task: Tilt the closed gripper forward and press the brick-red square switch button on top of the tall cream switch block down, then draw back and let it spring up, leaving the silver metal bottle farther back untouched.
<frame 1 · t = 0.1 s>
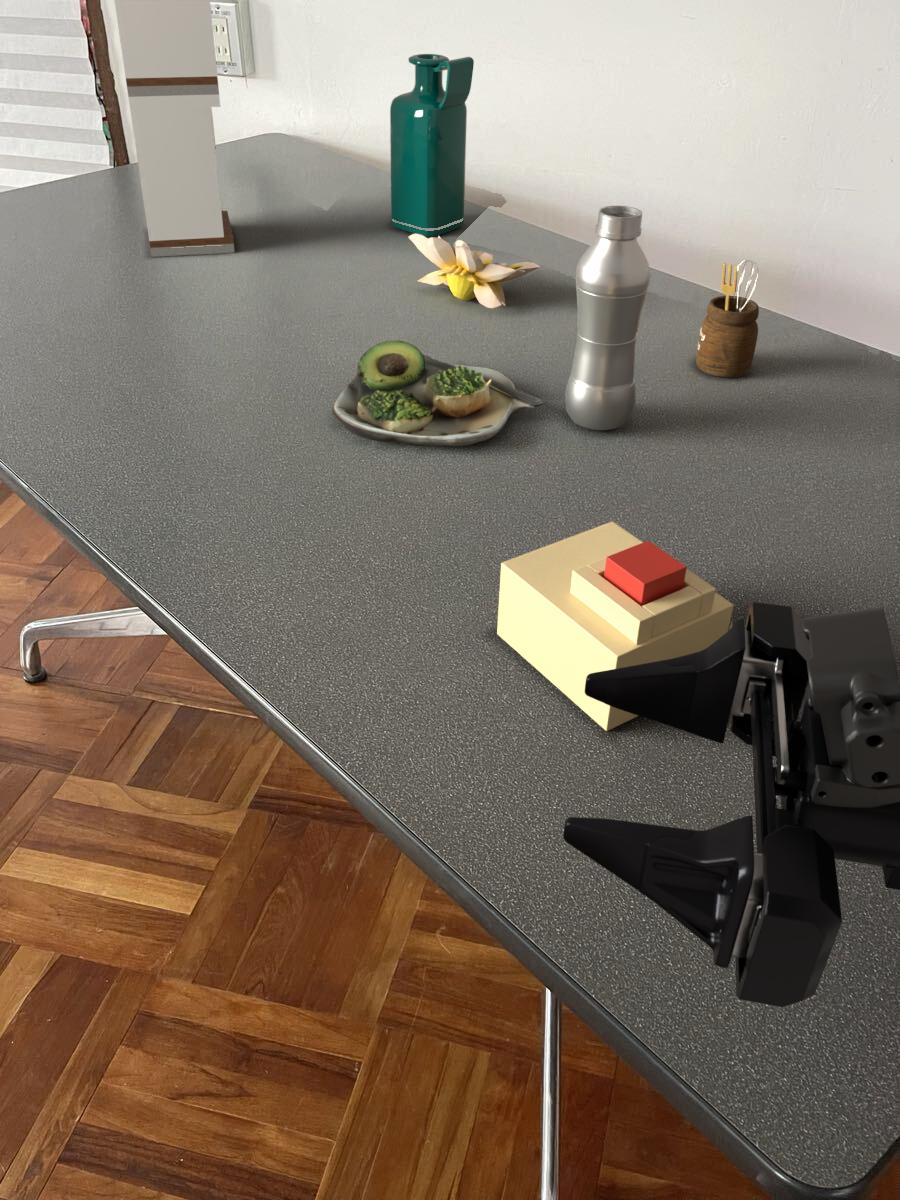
hand: (575, 750, 47), 14 cm above the table, tool horizontal, fingers open, 9 cm apart
decorative flower: (477, 298, 130), on the table
switch block: (604, 655, 75), on the table
utensil holder: (721, 369, 115), on the table
pitcher: (431, 228, 151), on the table
button: (644, 573, 68), point 8 cm above the table, slide at 0.1 cm
silver metal bottle: (596, 424, 104), on the table
salad plate: (422, 410, 105), on the table
striped white pillar: (191, 242, 144), on the table
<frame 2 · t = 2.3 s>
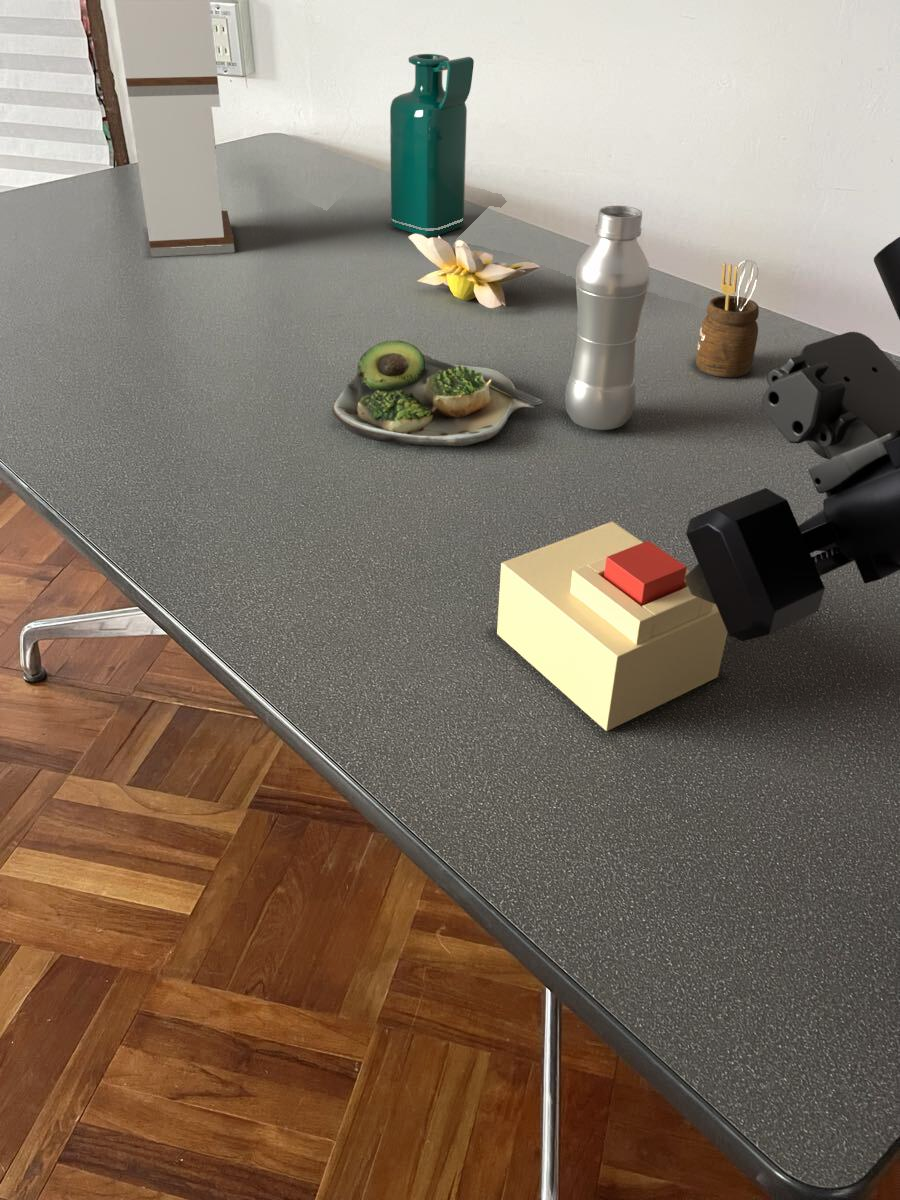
hand: (744, 561, 60), 14 cm above the table, tool tilted 45°, fingers open, 8 cm apart
nothing on the table moved.
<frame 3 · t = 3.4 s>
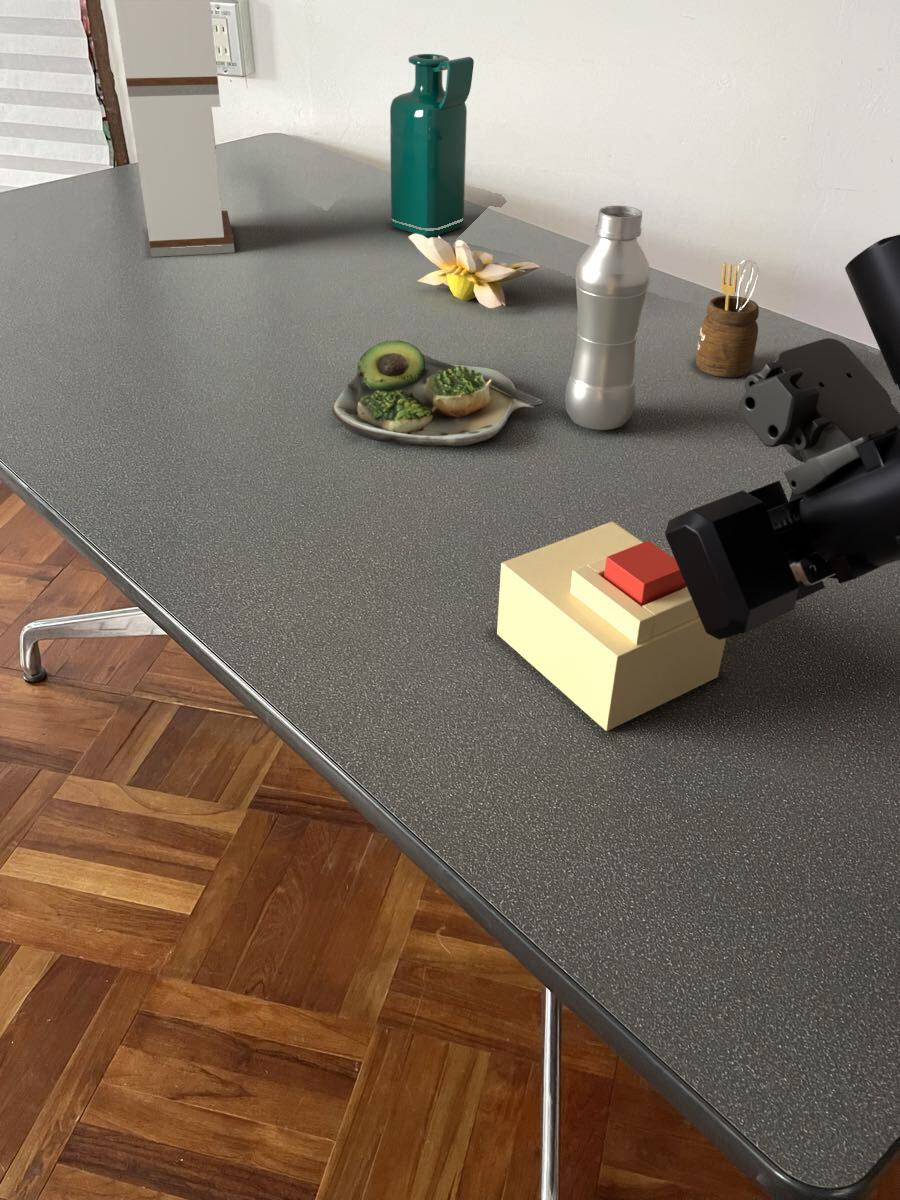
hand: (726, 562, 62), 13 cm above the table, tool tilted 45°, fingers closed
nothing on the table moved.
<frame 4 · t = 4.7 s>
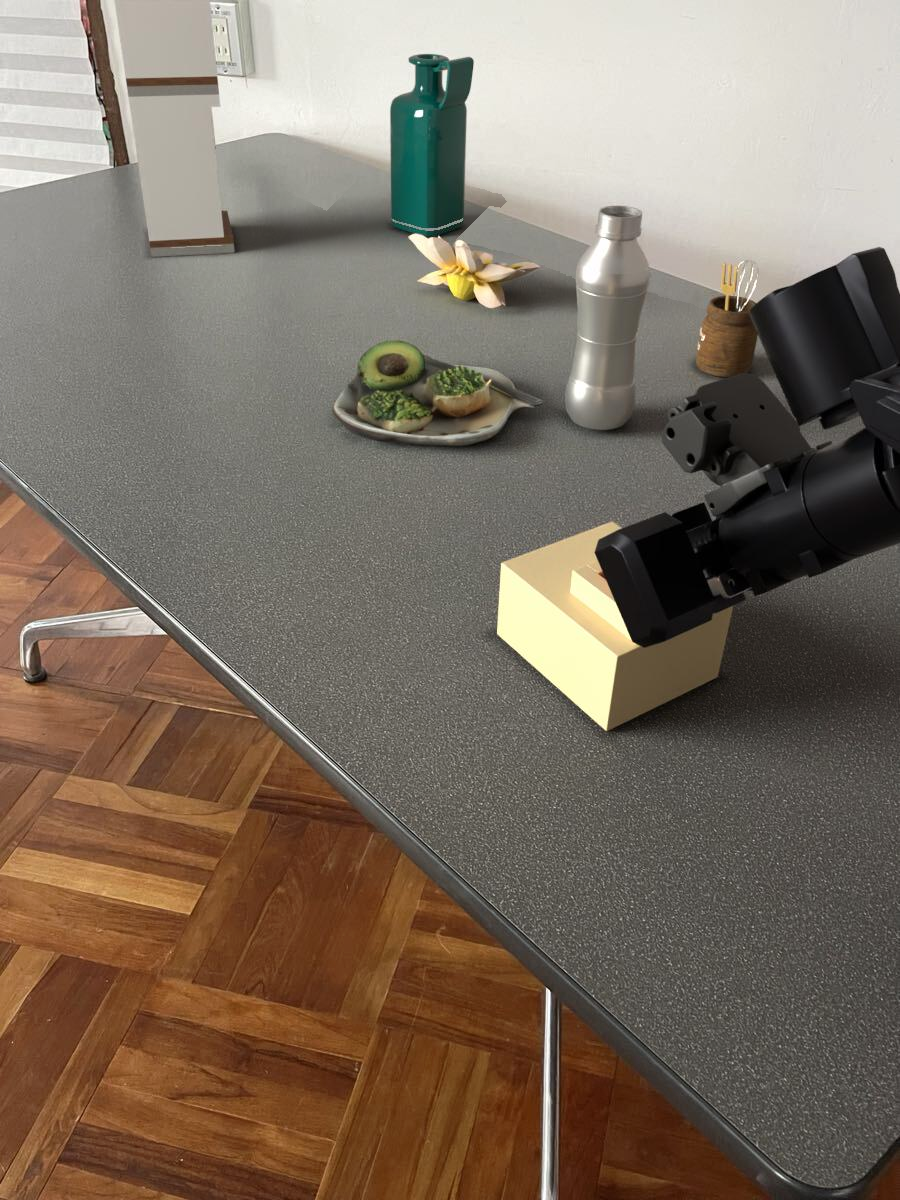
hand: (662, 576, 67), 9 cm above the table, tool tilted 45°, fingers closed, pressing on button
button: (643, 577, 68), point 8 cm above the table, slide at -0.3 cm, touching gripper
everything else where it was.
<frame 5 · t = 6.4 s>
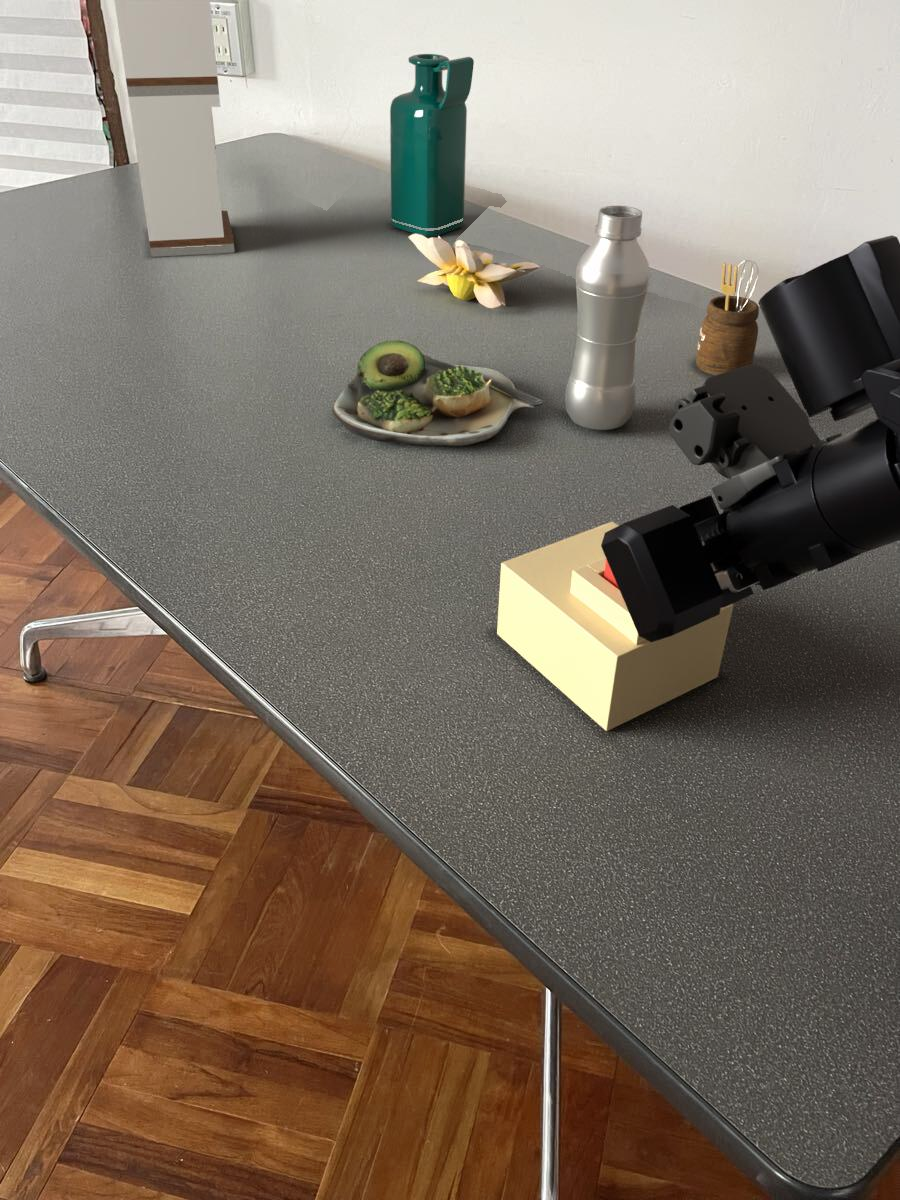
hand: (668, 570, 66), 10 cm above the table, tool tilted 45°, fingers closed
button: (644, 573, 68), point 8 cm above the table, slide at 0.1 cm
everything else where it was.
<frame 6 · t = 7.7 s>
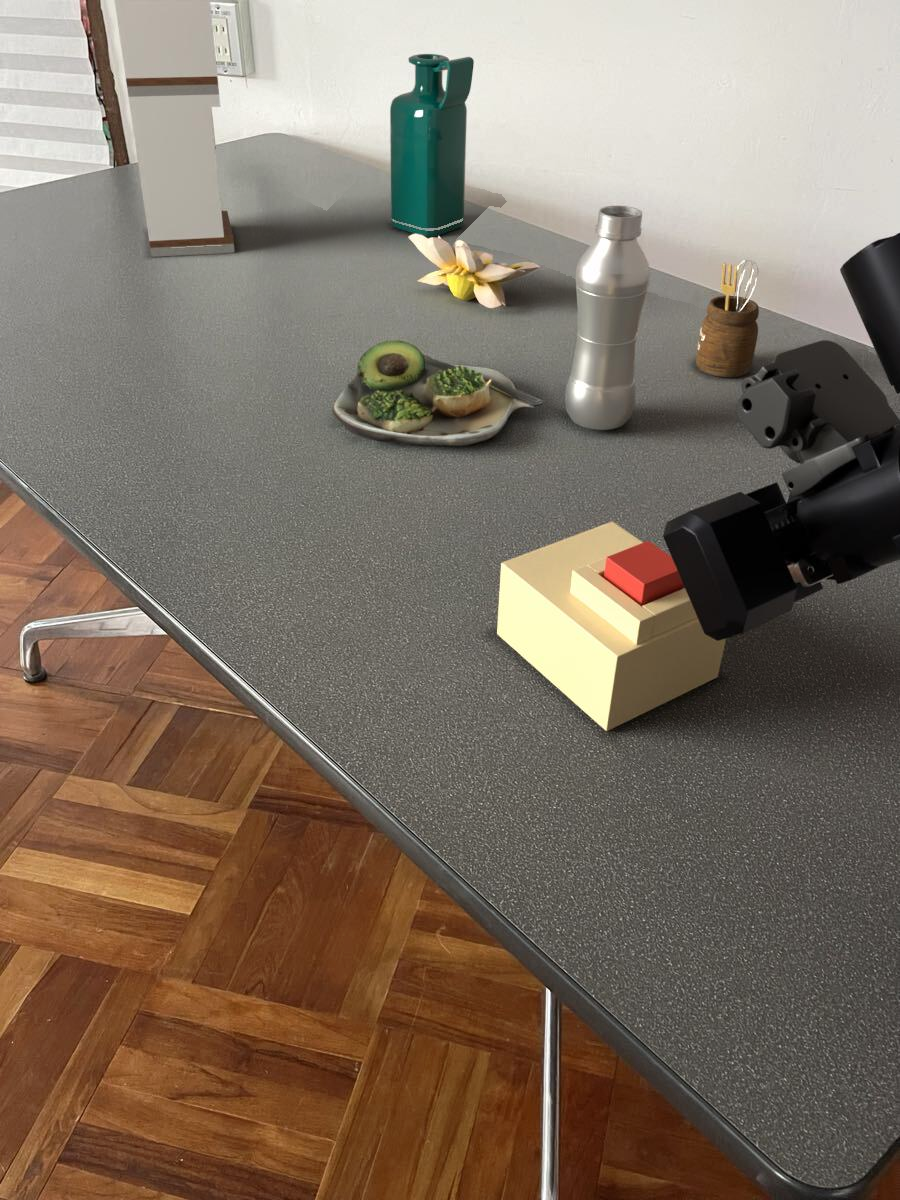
hand: (725, 564, 62), 13 cm above the table, tool tilted 45°, fingers closed
nothing on the table moved.
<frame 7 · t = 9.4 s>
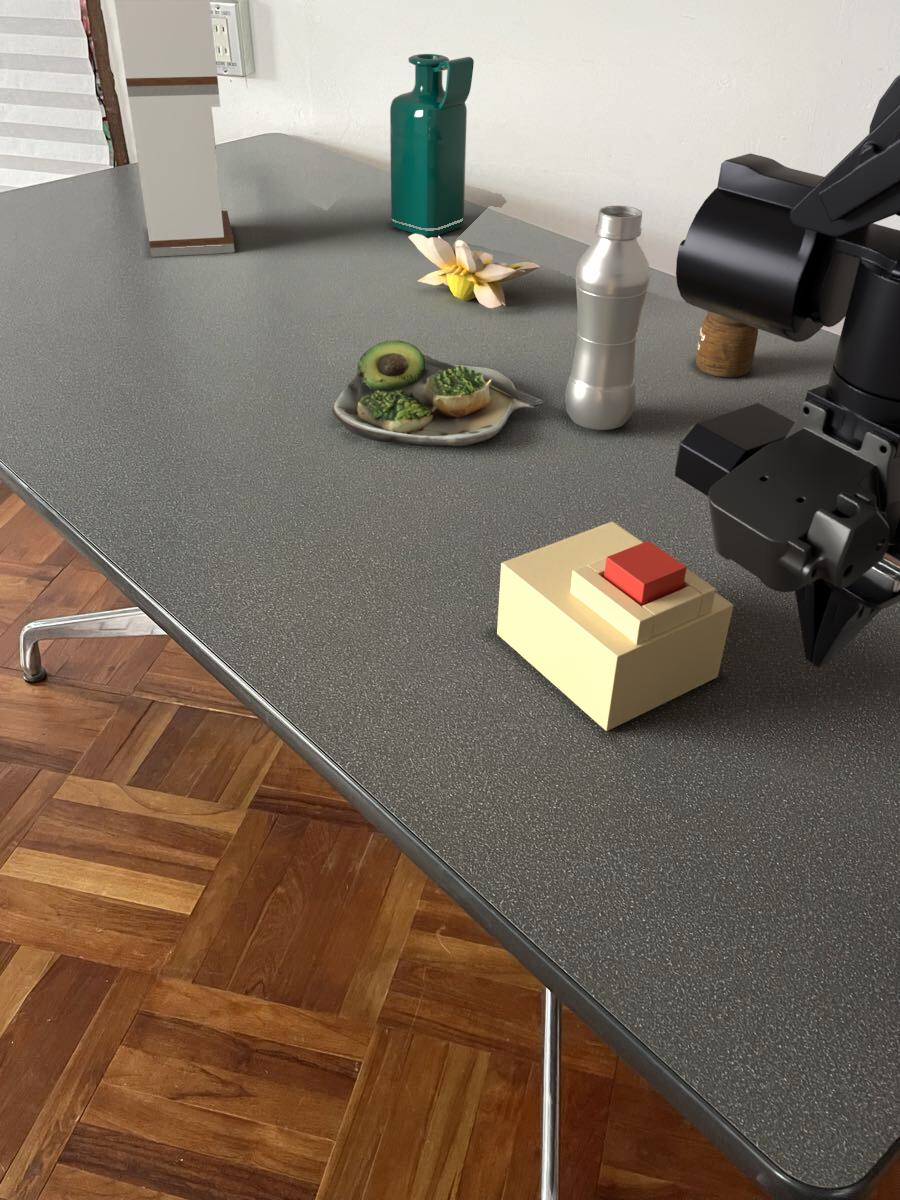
hand: (817, 661, 54), 13 cm above the table, tool pointing down, fingers closed
nothing on the table moved.
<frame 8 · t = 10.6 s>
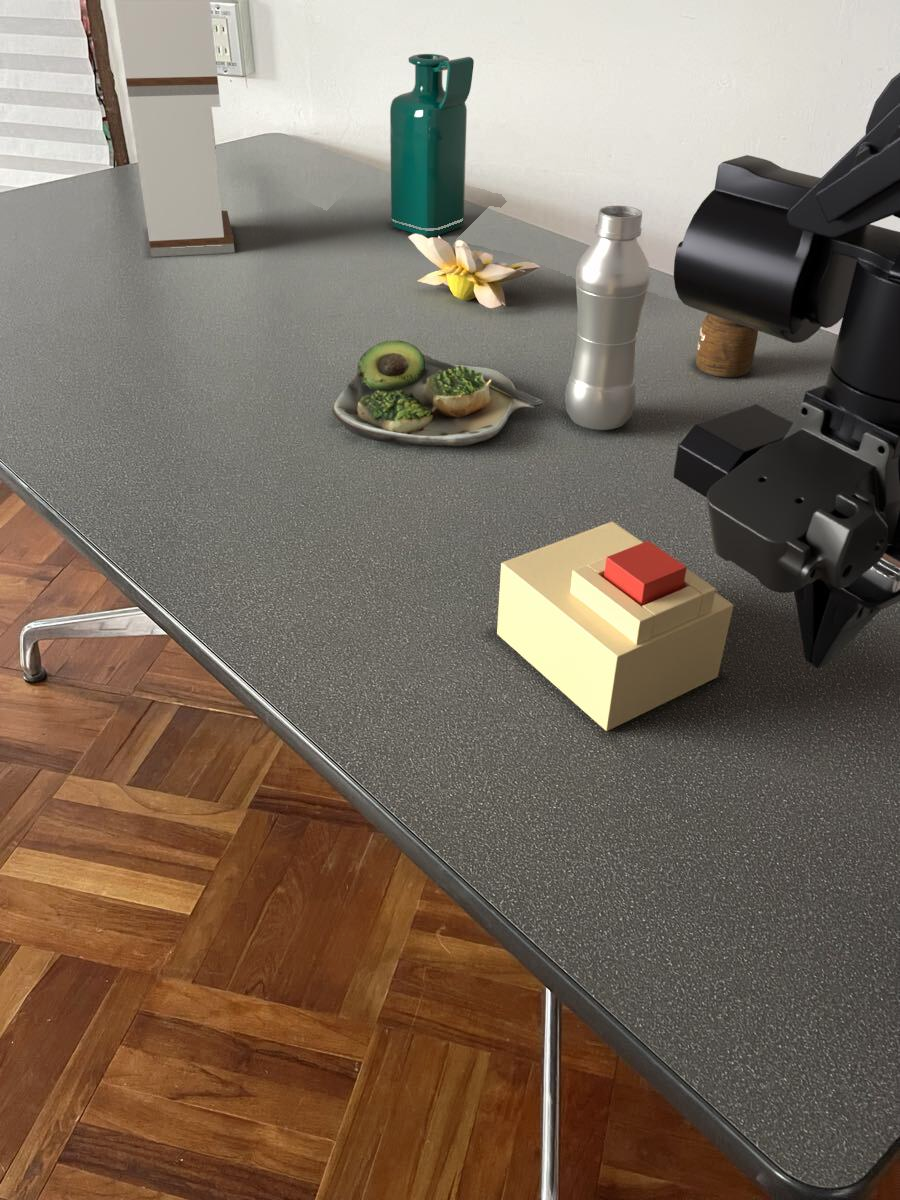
hand: (817, 662, 54), 13 cm above the table, tool pointing down, fingers closed
nothing on the table moved.
at the end: button pushed in 1.2 cm at the most during the clip, back to where it started at the end; button slide at 0.1 cm; silver metal bottle moved 0.2 cm from its start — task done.
